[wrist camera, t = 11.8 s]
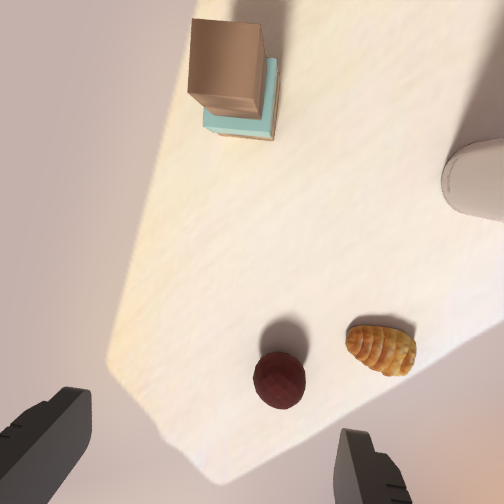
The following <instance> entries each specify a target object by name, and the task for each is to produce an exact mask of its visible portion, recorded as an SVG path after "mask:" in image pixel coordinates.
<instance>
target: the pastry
mask: <svg viewBox="0 0 504 504" xmlns="http://www.w3.org/2000/svg"><path fill="white" fill-rule="evenodd" d="M345 344H346V347H347V349H348V351H349V352H350V353H351V354H352V355H354V356H355V358H356V359H357V360H359V361H361V362H362V363H363V364H364V365H366V366H368V367H369V368H370V369H372V370H375V371H378V372H382V373H383V375H385V376H405V375H407V374H408V372H409V371H410V370H411V368H412V366H413V365H414V361H415V357H416V342H415V341H414V339H412V338H411V337H410V336H408V335H407V334H406V333H405V332H403V331H400V330H397V329H394V328H387V327H382V326H371V325H360V326H355V327H353V328H351V329H350V330H349V331H348V333H347V336H346V343H345Z"/></svg>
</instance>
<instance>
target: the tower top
mask: <svg viewBox="0 0 504 504" xmlns="http://www.w3.org/2000/svg"><path fill="white" fill-rule="evenodd" d="M266 64H267V72H266V81H265V90H264V100H263V109H262V118H261V120H254V119H244V118H234V117H224V116H214V115H213V114H211V113H210V112H209V111H208V110H207V109H206V108H205V107H204V114H203V127H205V128H206V129H208V130H210V131H211V132H214V133H225V134H236V135H247V136H258V137H269V138H271V132H272V122H273V112H274V103H275V93H276V84H277V74H278V72H277V58H266Z"/></svg>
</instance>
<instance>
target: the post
mask: <svg viewBox="0 0 504 504" xmlns="http://www.w3.org/2000/svg"><path fill="white" fill-rule="evenodd" d="M266 72H267V64H266V58H265V51H264V44H263V37H262V31H261V24H253V23H241V22H229V21H217V20H205V19H193V18H192V27H191V43H190V60H189V76H188V92H187V93H189V94H190V95H191V96H192V97H193V98H194V99H195V100H197V101H198V102H199V103H200V104H201V105H202V106H203V107H205V108H206V109H207V110H208V111H209V112H210V113H211V114H213V115H214V116H224V117H234V118H244V119H254V120H261V118H262V109H263V100H264V90H265V81H266Z"/></svg>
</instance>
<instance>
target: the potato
mask: <svg viewBox="0 0 504 504" xmlns="http://www.w3.org/2000/svg"><path fill="white" fill-rule="evenodd" d="M253 381H254V386H255V389H256V392H257V394H258V395H259V396H260V398H261V399H262V400H263V401H264V402H265V403H266V404H268V405H269V406H271V407H274V408H276V409H288V408H290V407H292V406H294V405H295V404H297V403H298V402H299V401H300V400H301V398H302V396H303V394H304V391H305V385H306V378H305V370H304V368H303V365H302V364H301V362H300V361H299V360H298V359H297V358H296V357H294V356H291V355H289V354H287V353H280V352H273V353H268V354H266V355H265V356H263V357H261V359H260V360H259V362H258V363H257V365H256V367H255V371H254V376H253Z"/></svg>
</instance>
